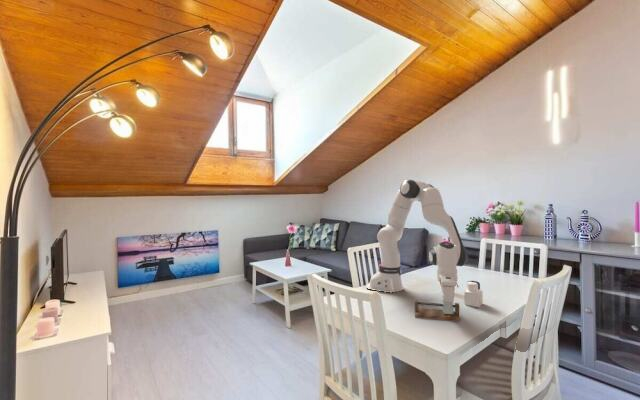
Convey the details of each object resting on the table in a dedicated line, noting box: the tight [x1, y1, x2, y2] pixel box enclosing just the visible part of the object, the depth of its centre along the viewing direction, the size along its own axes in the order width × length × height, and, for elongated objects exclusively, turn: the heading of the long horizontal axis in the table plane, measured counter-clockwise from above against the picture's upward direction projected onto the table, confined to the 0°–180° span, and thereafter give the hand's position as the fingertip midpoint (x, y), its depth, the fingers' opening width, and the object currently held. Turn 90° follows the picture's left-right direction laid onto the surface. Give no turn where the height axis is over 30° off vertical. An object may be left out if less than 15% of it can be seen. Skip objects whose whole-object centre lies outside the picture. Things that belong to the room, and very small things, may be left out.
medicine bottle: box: [464, 280, 484, 308], centre depth 162 cm, size 7×7×12 cm
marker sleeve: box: [442, 294, 454, 314], centre depth 148 cm, size 4×5×7 cm
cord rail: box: [414, 299, 461, 322], centre depth 150 cm, size 20×8×6 cm, turn 71°
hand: (447, 305), depth 148 cm, fingers open, 8 cm apart
